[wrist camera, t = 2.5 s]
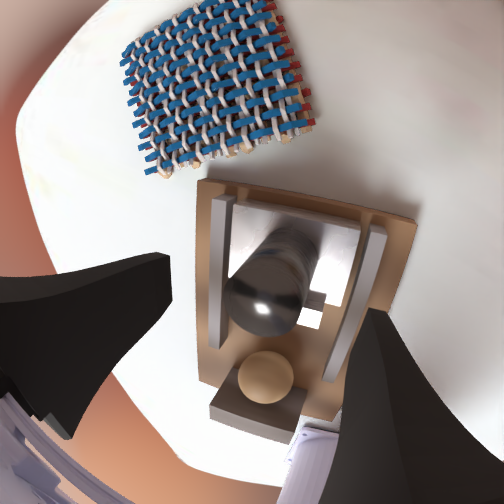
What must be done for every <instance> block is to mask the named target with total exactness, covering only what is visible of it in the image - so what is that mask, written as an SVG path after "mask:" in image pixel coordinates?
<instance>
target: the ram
mask: <svg viewBox="0 0 504 504" xmlns="http://www.w3.org/2000/svg"><path fill="white" fill-rule="evenodd" d="M360 232H361V227H360V222H359V221H355V220H350V219H346V218H342V217H337V216H333V215H328V214H324V213H319V212H315V211H310V210H305V209H300V208H295V207H290V206H285V205H280V204H275V203H270V202H264V201H259V200H254V199H248V198H244V199H242V200H240V201H238V202H237V203H235V204H233V215H232V229H231V244H230V259H229V274H228V277H229V280H228V281H227V283H226V285H225V287H224V291H223V301H224V305H225V308H226V310H227V312H228V314H229V316H230V317H231V319H232V320H233V321H234V322H235V323H236V324H237V325H238V326H239V327H241V328H242V329H244V330H245V331H247V332H249V333H251V334H254V335H257V336H261V337H277V336H281V335H284V334H286V333H288V332H289V331H290V330H292V329H293V328H294V326H295V325H296V324H297V323H298V324H301V325H305V326H309V327H313V328H317V329H318V326H319V323H320V319H321V316H322V313H323V308H324V304H325V303H328V304H332V305H336V306H340V305H341V302H342V299H343V295H344V292H345V289H346V285H347V282H348V278H349V275H350V271H351V268H352V264H353V260H354V256H355V252H356V249H357V245H358V241H359V237H360Z"/></svg>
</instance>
